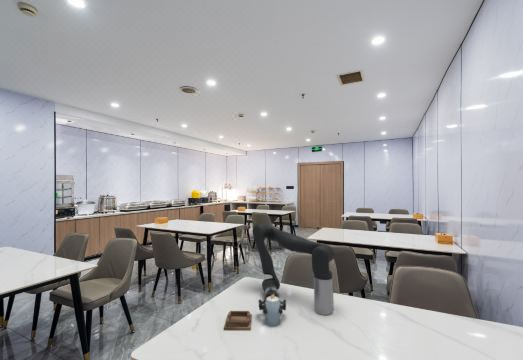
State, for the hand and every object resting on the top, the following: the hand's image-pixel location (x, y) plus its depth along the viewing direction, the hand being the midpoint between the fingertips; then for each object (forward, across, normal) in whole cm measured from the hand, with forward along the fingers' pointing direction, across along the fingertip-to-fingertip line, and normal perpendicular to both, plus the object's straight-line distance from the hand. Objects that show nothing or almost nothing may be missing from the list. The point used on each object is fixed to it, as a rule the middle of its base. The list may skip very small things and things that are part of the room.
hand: (273, 312), depth 112 cm
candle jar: (-2, 0, +6) cm, 6 cm away
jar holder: (-2, -16, +6) cm, 17 cm away
